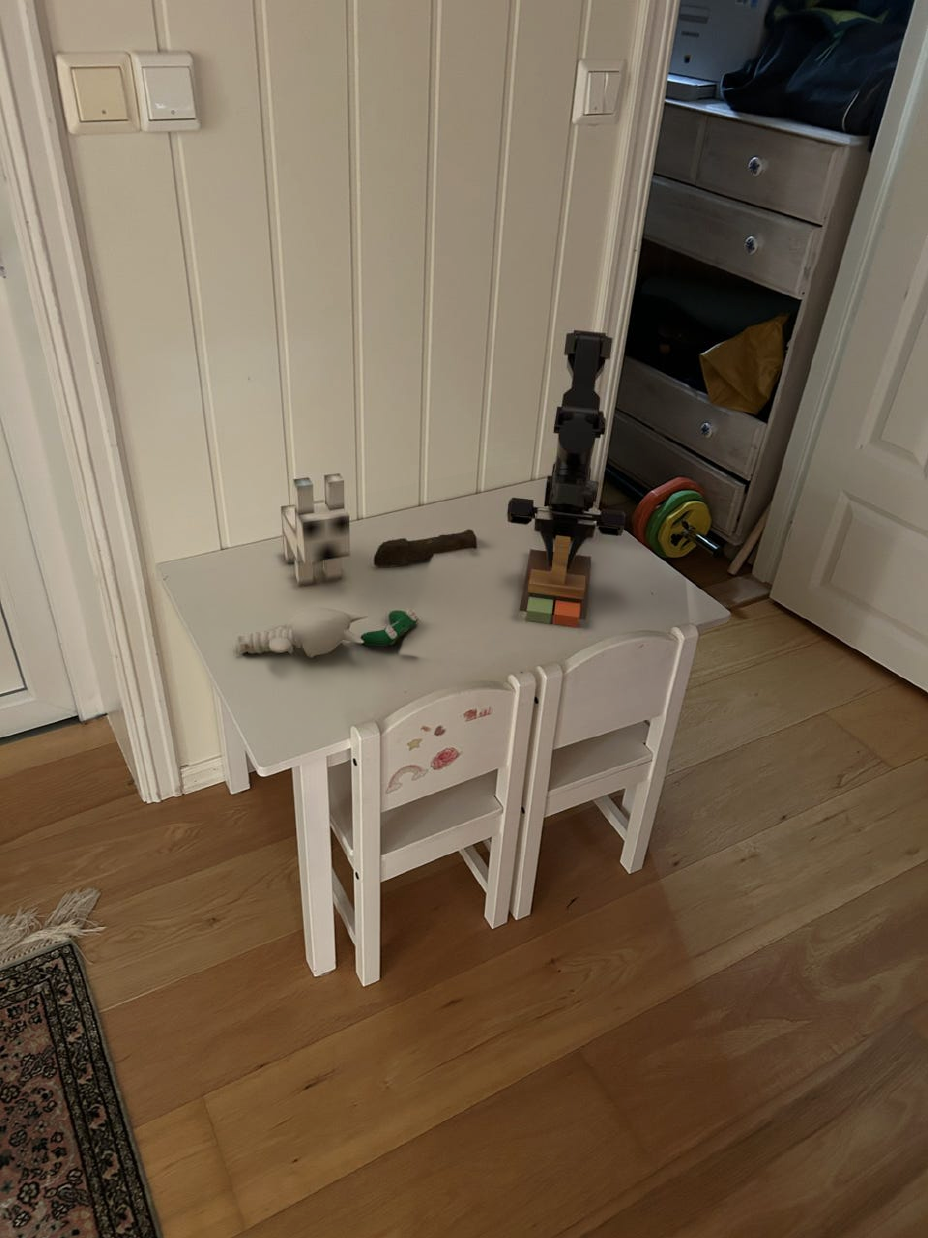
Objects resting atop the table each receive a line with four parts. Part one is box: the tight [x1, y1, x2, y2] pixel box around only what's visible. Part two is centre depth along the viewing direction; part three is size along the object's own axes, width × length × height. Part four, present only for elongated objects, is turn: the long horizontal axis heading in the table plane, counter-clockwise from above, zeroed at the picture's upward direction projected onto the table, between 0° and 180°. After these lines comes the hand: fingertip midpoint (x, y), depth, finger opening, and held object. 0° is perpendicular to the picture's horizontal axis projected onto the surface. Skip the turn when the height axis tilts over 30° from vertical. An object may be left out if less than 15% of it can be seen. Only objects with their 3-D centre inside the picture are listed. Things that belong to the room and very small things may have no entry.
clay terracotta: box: [552, 600, 580, 628], centre depth 150 cm, size 4×4×2 cm
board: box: [518, 548, 592, 621], centre depth 160 cm, size 20×11×2 cm, turn 171°
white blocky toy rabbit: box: [280, 472, 351, 587], centre depth 155 cm, size 8×18×20 cm, turn 23°
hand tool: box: [373, 529, 478, 567], centre depth 165 cm, size 19×4×5 cm, turn 111°
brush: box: [528, 535, 586, 607], centre depth 151 cm, size 4×9×12 cm, turn 81°
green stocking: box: [360, 608, 419, 647], centre depth 145 cm, size 9×4×6 cm
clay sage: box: [525, 597, 553, 624], centre depth 151 cm, size 4×4×2 cm
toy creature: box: [236, 607, 370, 659], centre depth 140 cm, size 13×7×20 cm
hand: (559, 568), depth 149 cm, fingers closed on brush, 2 cm apart
